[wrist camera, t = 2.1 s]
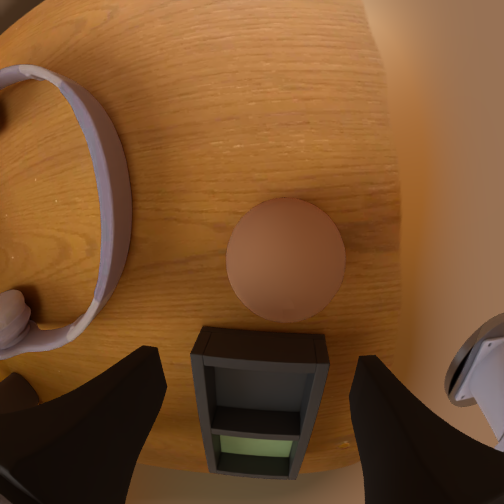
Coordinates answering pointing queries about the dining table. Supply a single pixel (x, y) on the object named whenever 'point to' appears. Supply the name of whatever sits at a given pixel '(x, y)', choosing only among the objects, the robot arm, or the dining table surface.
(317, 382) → the divided tray
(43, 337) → the headphones
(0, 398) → the coffee cup
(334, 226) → the egg
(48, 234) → the dining table surface
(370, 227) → the dining table surface
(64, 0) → the dining table surface
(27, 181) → the dining table surface
